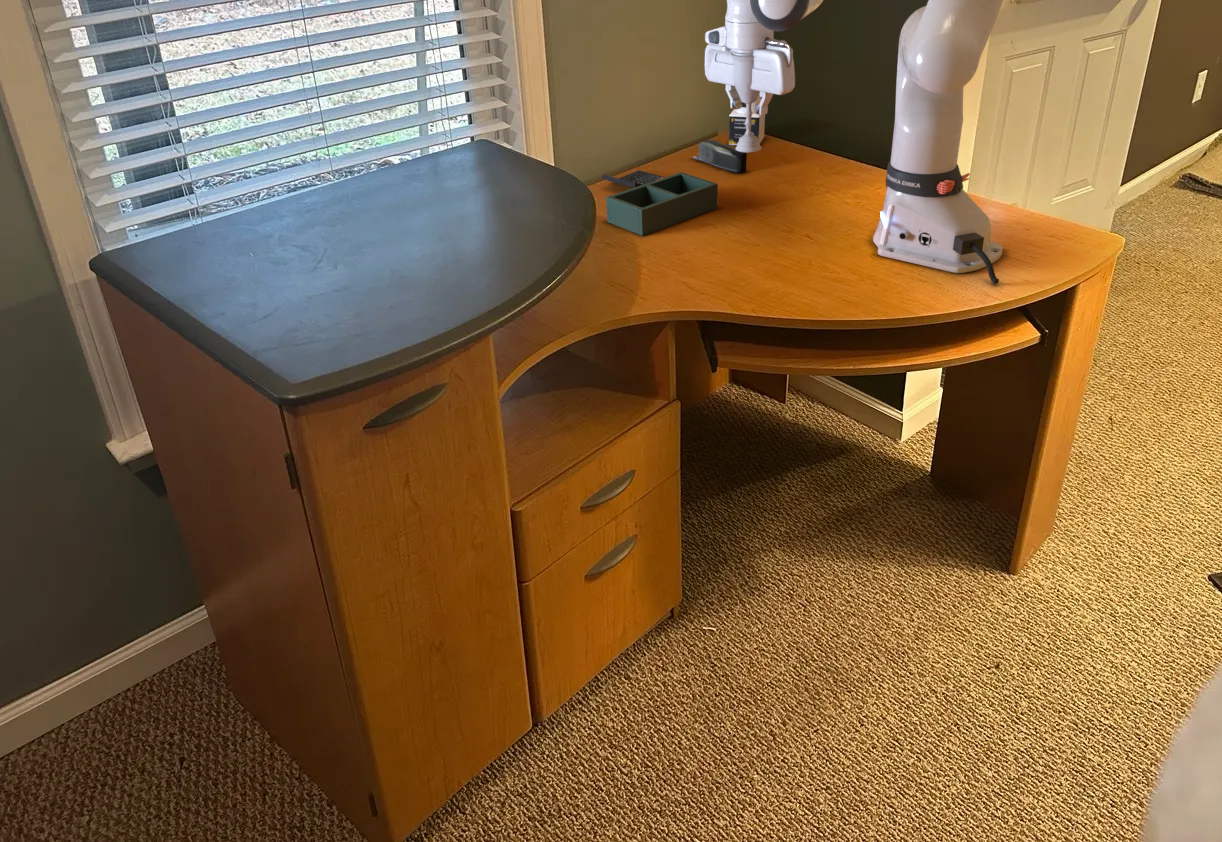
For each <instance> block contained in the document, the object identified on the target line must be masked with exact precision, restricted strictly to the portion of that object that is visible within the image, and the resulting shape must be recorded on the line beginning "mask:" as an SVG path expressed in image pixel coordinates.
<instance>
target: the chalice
mask: <svg viewBox="0 0 1222 842" xmlns="http://www.w3.org/2000/svg"><path fill="white" fill-rule="evenodd" d="M731 55H732V53H731ZM732 58H733V60H734V67H733V81H734V84H735V87H736V90H737V92H738V94H739V97H740V99H741V101H742V102H743V103H746V107H747V108H746V112H745V115H746V122H745V123H744V124H745V125H746V133H745V135H743V136H741V137H740V139H739V142H738V143H737V145H736V147H734V148H735V149H736V150H737V151H739V152H746V153H755V152H759V151H761V150H762V146H761V145H760V144H761V143H759V141H758V138H757V137H756V136H755V135H752V134H753V133H751V126H752V124H753V122H752V121H751V116H752V114H753V113H752V110H751V105H752V103H753V102H755V101H756V100H757V98H758V95H759V93H760V91H757V90H752V89H751V84H752V68H754V60H753V59H754V56H750V57H740V56H734V55H732Z"/></svg>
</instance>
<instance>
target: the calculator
mask: <svg viewBox="0 0 1222 842" xmlns="http://www.w3.org/2000/svg"><path fill="white" fill-rule="evenodd" d="M665 177H666V176H663V175H659V174H654V173H651V172H647V171H643V170H640V169H638V170H636V171H634V172H631V173H628V174H625V175H623V176H621V177H614V176H611V175H607V174H602V176H601V179H603V180H606V181H608V182H611V183H614V184H616V185H621V186H624V187H629V188H630V189H632V188H635V187H638V186H641V185H644V184H647V183H650V182H653V181H656V180H659V179H662V178H665Z"/></svg>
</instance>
